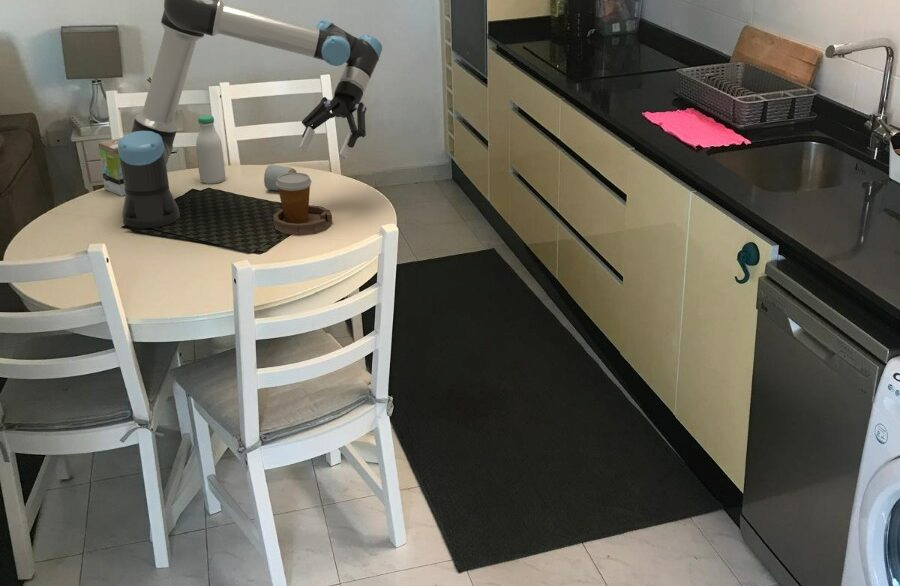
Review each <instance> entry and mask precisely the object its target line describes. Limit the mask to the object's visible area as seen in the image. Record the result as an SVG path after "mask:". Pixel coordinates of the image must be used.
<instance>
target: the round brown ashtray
mask: <svg viewBox="0 0 900 586" xmlns="http://www.w3.org/2000/svg"><path fill="white" fill-rule="evenodd" d="M272 218H273V226H275V227H274V230H275V229H276V230H278V231H277V232H279V231H280V232H279V233H281V232H282V233H281V234H283V233H284V235H293V236H307V235H315V234H318V233H319V234H320V233H322V232H324V231H327V230H328V229H329V228H331V226H332V225H333V216H332V212H331V210H330V209H329V208H327V207H323V206H320V205H311V204H309V208H308V220H307V221H305V222H302V223H288V222H286V221H285V219H284V214H283V209H282V208H281V209H278V211H276V212H275V213H274V214H273V215H272ZM276 230H275V231H276Z"/></svg>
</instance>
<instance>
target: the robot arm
mask: <svg viewBox="0 0 900 586" xmlns="http://www.w3.org/2000/svg"><path fill="white" fill-rule="evenodd" d="M163 9H164V10H163V13H162V16H161V19H160V25H162V27H163V29H164V32H163V34H162V35H163V36H162V40H161V43H160V46H159V50H158V54H157V57H156V61H155V65H154V68H153V73H152V76H151V79H150V83H149V87H148V91H147V94H146V99H145V102H144V106H143V110H142V112H140V113H138V114H136V115H135V117H134V120H133V125H132V127H131V131H130V133H127V134H124V135H123V136H122V137H120V138H121V139H120V140H119V143H118V154H119V157H120V162H121V168H122V175H123V181H124V187H125V194H126V195H124V196H125V197H124V202H123V207H122V214H121V216H122V222H123V224H124V225H125V226H127V227H130V228H134V229H135V228H136V229H152V228H160V227H164V226H167V225H170V224H173V223H174V222H176V221H177V220H179V219H180V215H181V214H180V208H179V206H178V204H177V203H176V200H175V198H174V197H173V193H172V192H171V190H170V183H169V182H170V181H169V176H168V169H167V164H168V161H169V157H170V156H171V154H172V151H173V148H174V145H173V144H174V142H175V138H176V134H177V131H178V127H177V125H176V124H175V122H174V120H175V116H176V114H177V112H178V111H177V110H178V107H179V103H180V100H181V95H182V94H183V89H184V86H185V82H186V78H187V75H188V72H189V68H190V65H191V61H192V59H193V55H194V51H195V48H196V47H195V46H196V44H197V41H199V40H201V39H203V38H204V36H205V35H207V36H211V37H214V36H216V35H219V34H220V35H224V36H227V37H230V38H231V37H232V38H235V39H239V40H243V41H247V42H250V43H255V44H258V45H259V44H260V45H263V46H267V47H271V48H275V49H279V50H283V51H286V52H290V53H294V54H298V55H302V56H307V57H310V58H314V59H318V60H320V61H324V62H325V63H327V64H328V65H330V66H335V67H340V66H342V65H344V64H346V66H345V68H344V70H343V72H342V74H341V76H340V79H339V82H338V83H337V86H336V88H335V90H334V92H333V93H334V95H333V98H332V99H328V98H327V97H326V96H324V97H322V98H321V100H320V102H319V104H317V105H316V106H315V107H314V108H313V109H312V110H311V112H309V114H307V116H306V117H304V118H303V119H302V121H301V124H302V125H303V126H304V128H305V129H304V131H303V134H302V135H301V136H302V137H301V138H302V140H301V142H300V144H299V146H298V147H299V149H301V150H302V152H304V153H307V151H308V149H309V147H310V144H311V143H312V140H313V137H314V136H315V133H316V132H315V130H316V129H317V128H319V127H320V126H321V125H324V124H325V122H328V120H330V119H333V118H335V117H336V118H342V119H347V120H346V121H347V124H348V126H349V129H350V132H348V133H347V135H346V138H345V140H344V142H343V143H342V147H341V149H340V152H339V156H340V157H341V158H342V159H344V160H347V158H348V156H349V153H350V151H351V149H352V148H354V147H355V144H356V143H357V140H358V138H361V137H362V138H365V137H366V136H367V135H366V133H367V132H366V112H367V107H366V105H365V104H364V103H363V101H362V102H361V100H362V98H363V96H364V92H365V91H366V89H367V86H368V85H369V83H370V82H369V81H370V79H371V78H372V75H373V73H374V71H375V69H376V67H377V65H378V62H379V61H380V58H381V57H380V56H381V54H382V51H383V45H382V43H381V42H380V40H379V39H378V38H377V37H375V36H373V35H369V34H366V33H365V34H361V35H359V37H355V36H354V35H352V34H351V33H349V32H347V31H345V30H344V29H343V28H340V27H339V26H337V25H335V24H334V23H333V22H330V20H329V21H328V20H326V19H325V18H324V19H320V20H319V21H318V22H317V24H316V26H315V27H313V26H308V25H303V24H301V23H297V22H293V21H289V20H287V19H286V20H285V19H281V18H278V17H274V16H270V15H267V14H262V13H258V12H255V11H251V10H249V9H246V8H245V9H244V8H240V7H237V6H233V5H228V4H226V3H224V1H223V0H164V2H163ZM355 111H356V119H357V120H356V122H355V117H354V112H355ZM356 123H357V125H356Z"/></svg>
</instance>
